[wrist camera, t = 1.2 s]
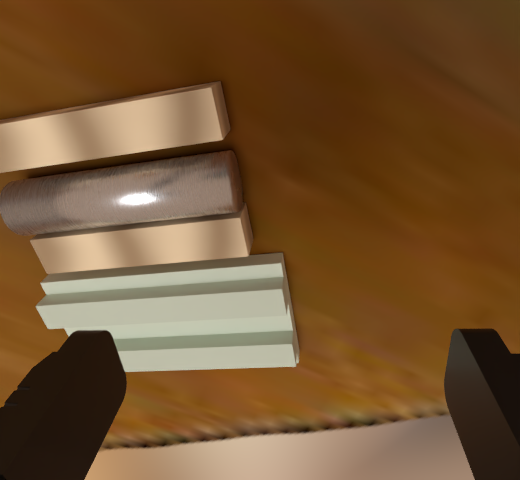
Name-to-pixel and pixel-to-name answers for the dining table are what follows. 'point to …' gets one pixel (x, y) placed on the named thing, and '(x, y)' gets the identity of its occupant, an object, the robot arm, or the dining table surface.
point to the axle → (124, 194)
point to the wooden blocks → (119, 143)
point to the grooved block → (182, 312)
